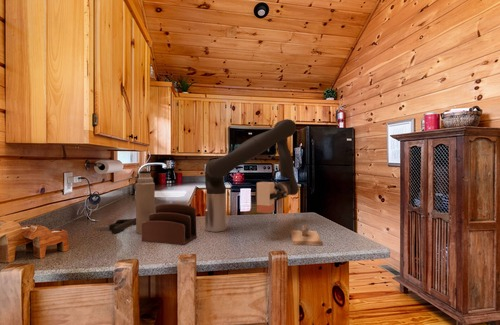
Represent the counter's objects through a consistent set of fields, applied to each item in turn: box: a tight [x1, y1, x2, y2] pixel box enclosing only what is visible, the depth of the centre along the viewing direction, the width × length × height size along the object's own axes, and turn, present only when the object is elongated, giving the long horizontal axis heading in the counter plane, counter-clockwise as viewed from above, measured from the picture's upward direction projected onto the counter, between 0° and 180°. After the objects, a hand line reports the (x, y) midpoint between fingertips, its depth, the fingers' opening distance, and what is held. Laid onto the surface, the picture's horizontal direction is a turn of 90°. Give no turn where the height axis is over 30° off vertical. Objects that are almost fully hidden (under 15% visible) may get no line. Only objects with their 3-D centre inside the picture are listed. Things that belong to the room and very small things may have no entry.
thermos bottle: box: [135, 170, 156, 235], centre depth 112 cm, size 8×8×28 cm
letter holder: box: [141, 203, 198, 246], centre depth 101 cm, size 10×20×14 cm, turn 75°
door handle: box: [93, 217, 136, 234], centre depth 119 cm, size 3×20×16 cm
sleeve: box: [256, 181, 275, 214], centre depth 101 cm, size 6×6×12 cm
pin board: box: [290, 224, 323, 246], centre depth 99 cm, size 11×14×6 cm
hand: (263, 196), depth 99 cm, fingers closed on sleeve, 5 cm apart
